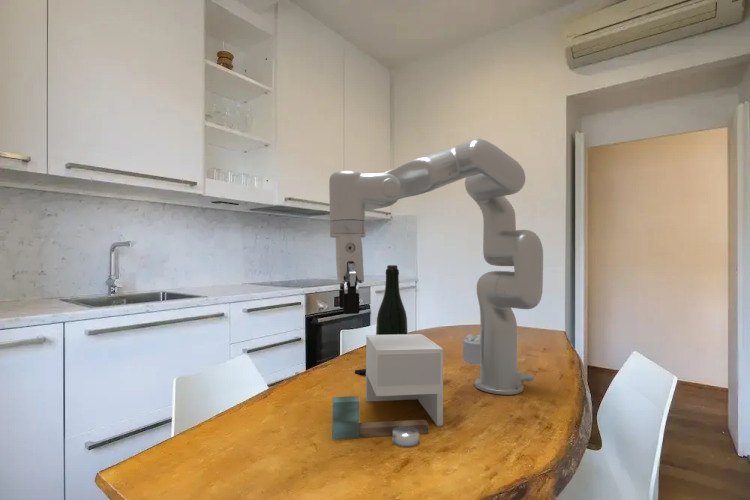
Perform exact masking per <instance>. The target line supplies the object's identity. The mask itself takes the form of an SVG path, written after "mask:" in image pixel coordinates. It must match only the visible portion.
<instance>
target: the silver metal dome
mask: <svg viewBox="0 0 750 500" xmlns="http://www.w3.org/2000/svg"><path fill="white" fill-rule="evenodd" d="M391 438H392V439H391V440H392V444H394V445H395V446H397V447H400V448H406V449H407V448H413V447H416V446H418V445H419V444H420V434H419V431H418V430H417V429H416V428H414V427H410V426H399V427H396V428H394V429H393V432H392V436H391Z"/></svg>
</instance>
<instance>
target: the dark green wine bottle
mask: <svg viewBox="0 0 750 500" xmlns="http://www.w3.org/2000/svg"><path fill="white" fill-rule="evenodd" d="M386 268H387V269H385V288H384V293H383V294H384V295H383V298H382V301H381V304H380V306H379V308H378V311H377V317H376V323H375V324H376V326H375V327H376V328H375V330H376V331H375V335H397V334H409V333H408V317H407V316H408V315H407V312H406V309H405V306H404V303H403V300H402V298H401V297H402V296H401V293H400V280H399V277H400V271H399V269H398V265H394V264H391V265H390V264H389V265H387V267H386Z"/></svg>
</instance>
